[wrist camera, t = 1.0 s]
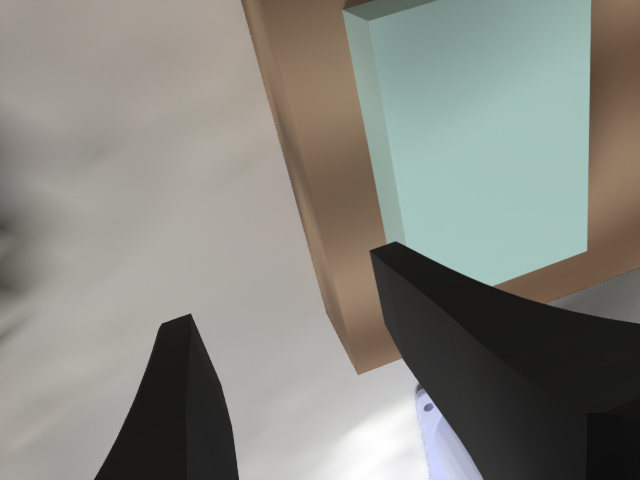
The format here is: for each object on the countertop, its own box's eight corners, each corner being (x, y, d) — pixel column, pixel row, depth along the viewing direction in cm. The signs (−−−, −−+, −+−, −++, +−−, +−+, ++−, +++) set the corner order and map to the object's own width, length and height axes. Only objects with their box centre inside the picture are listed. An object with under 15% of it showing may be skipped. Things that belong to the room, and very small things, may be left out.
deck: (577, 222, 27) (642, 266, 24) (326, 313, 26) (357, 375, 22) (580, -174, 19) (677, -192, 16) (219, -78, 18) (243, -76, 14)
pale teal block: (550, 224, 21) (587, 251, 20) (394, 281, 21) (418, 313, 19) (544, -50, 17) (592, -46, 15) (342, 10, 16) (368, 21, 14)
